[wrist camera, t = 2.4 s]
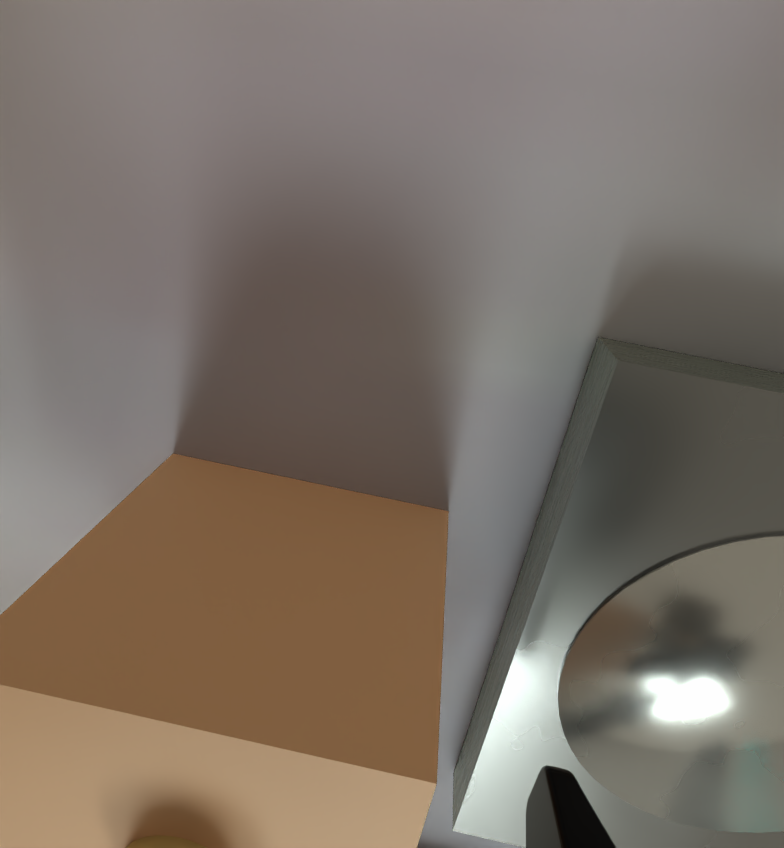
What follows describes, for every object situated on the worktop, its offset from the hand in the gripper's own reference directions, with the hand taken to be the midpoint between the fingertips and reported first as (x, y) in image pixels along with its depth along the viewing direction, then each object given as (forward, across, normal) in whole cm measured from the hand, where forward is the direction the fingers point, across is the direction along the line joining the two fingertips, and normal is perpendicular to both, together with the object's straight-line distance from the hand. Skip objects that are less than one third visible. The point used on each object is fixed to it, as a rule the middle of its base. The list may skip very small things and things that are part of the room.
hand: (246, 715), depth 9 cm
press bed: (+3, -8, -1) cm, 9 cm away
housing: (+3, 0, 0) cm, 3 cm away
